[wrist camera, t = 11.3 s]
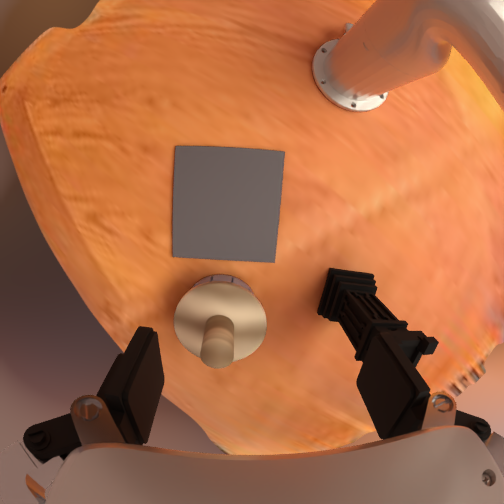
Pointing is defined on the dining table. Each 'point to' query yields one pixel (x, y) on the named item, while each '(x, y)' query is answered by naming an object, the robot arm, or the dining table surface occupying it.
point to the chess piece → (367, 315)
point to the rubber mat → (226, 203)
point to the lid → (220, 322)
